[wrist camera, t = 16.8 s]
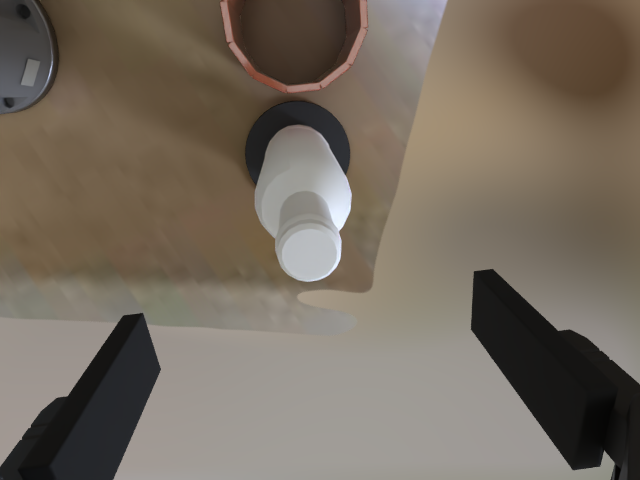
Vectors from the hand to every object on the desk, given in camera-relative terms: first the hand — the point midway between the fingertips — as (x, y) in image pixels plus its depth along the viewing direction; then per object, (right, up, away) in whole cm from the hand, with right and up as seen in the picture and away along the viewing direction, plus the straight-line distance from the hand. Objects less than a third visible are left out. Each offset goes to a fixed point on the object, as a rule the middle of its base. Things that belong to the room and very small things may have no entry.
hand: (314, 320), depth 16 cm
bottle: (-2, +14, +34) cm, 37 cm away
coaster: (-3, +14, +35) cm, 37 cm away
